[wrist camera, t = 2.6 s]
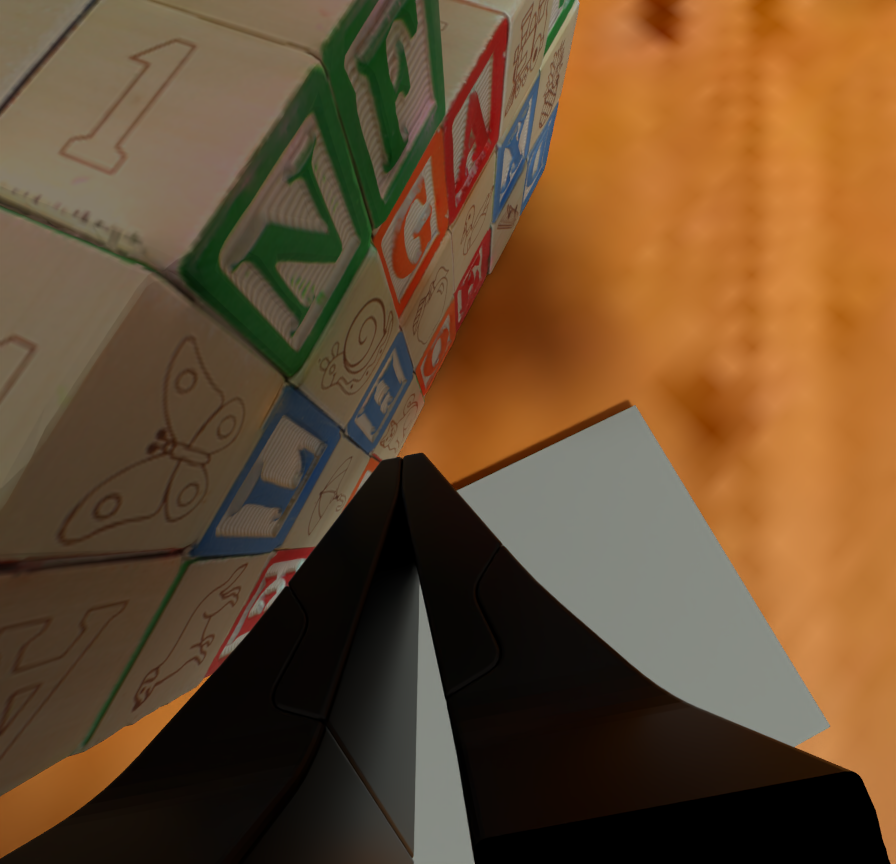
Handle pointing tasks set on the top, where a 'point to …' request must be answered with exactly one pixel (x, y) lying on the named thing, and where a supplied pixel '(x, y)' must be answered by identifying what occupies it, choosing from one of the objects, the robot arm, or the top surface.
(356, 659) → the robot arm
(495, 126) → the stack of blocks
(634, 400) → the top surface
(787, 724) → the grey rubber mat
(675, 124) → the top surface
